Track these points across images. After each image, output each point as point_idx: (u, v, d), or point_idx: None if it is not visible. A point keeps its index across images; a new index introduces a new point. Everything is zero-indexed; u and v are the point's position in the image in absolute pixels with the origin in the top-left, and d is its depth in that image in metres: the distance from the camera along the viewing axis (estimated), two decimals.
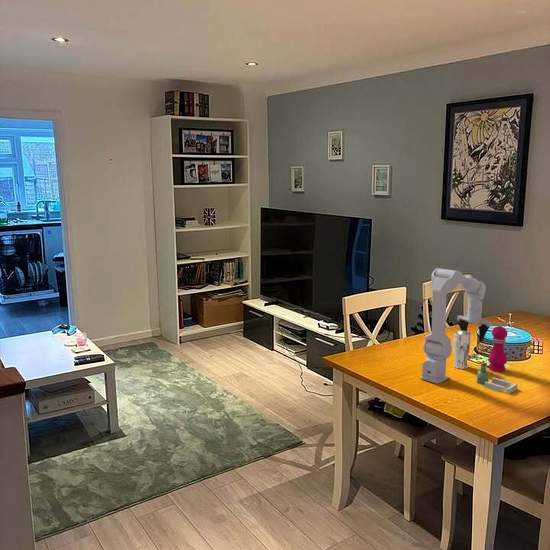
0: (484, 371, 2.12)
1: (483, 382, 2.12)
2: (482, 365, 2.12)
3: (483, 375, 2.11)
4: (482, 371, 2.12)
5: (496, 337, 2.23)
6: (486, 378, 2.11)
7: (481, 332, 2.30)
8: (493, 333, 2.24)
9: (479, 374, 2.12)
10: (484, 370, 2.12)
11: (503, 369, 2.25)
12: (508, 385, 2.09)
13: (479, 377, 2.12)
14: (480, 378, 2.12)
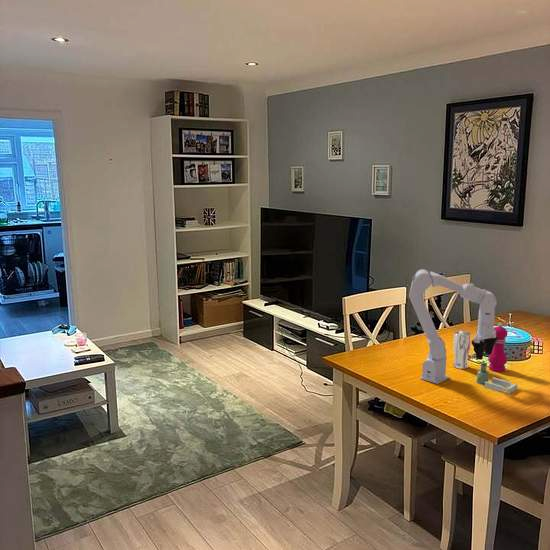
0: (484, 371, 2.12)
1: (483, 382, 2.12)
2: (482, 365, 2.12)
3: (483, 375, 2.11)
4: (482, 371, 2.12)
5: None
6: (486, 378, 2.11)
7: None
8: None
9: (479, 374, 2.12)
10: (484, 370, 2.12)
11: (503, 369, 2.25)
12: (508, 385, 2.09)
13: (479, 377, 2.12)
14: (480, 378, 2.12)
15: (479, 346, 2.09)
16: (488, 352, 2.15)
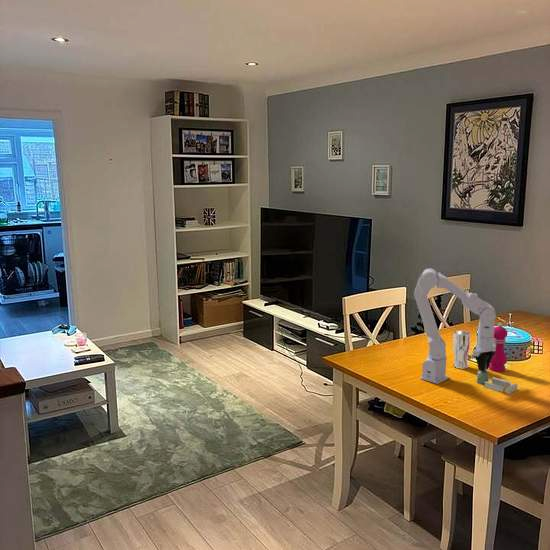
0: (484, 371, 2.12)
1: (483, 382, 2.12)
2: None
3: (483, 375, 2.11)
4: (482, 371, 2.12)
5: (496, 337, 2.23)
6: (486, 378, 2.11)
7: None
8: None
9: (479, 374, 2.12)
10: None
11: (503, 369, 2.25)
12: (508, 385, 2.09)
13: (479, 377, 2.12)
14: (480, 378, 2.12)
15: (481, 358, 2.11)
16: (485, 366, 2.13)
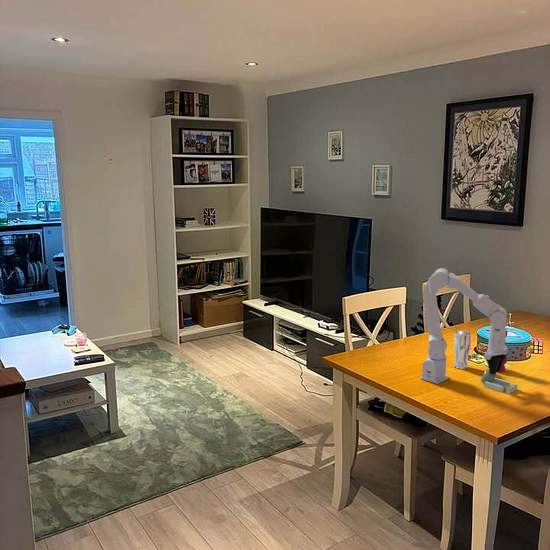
0: None
1: None
2: None
3: (490, 377, 2.09)
4: None
5: None
6: (492, 380, 2.10)
7: None
8: None
9: (486, 374, 2.10)
10: None
11: (503, 369, 2.25)
12: (508, 385, 2.09)
13: (485, 377, 2.10)
14: (486, 378, 2.10)
15: (493, 361, 2.07)
16: (496, 370, 2.10)
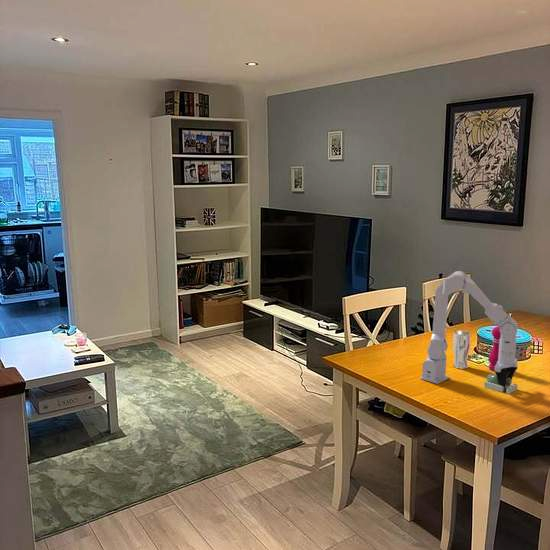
0: None
1: None
2: (507, 381, 2.05)
3: (497, 384, 2.07)
4: None
5: (496, 337, 2.23)
6: None
7: None
8: (493, 333, 2.24)
9: (496, 380, 2.07)
10: None
11: None
12: (508, 385, 2.09)
13: (493, 380, 2.08)
14: (493, 381, 2.08)
15: (502, 374, 2.04)
16: None
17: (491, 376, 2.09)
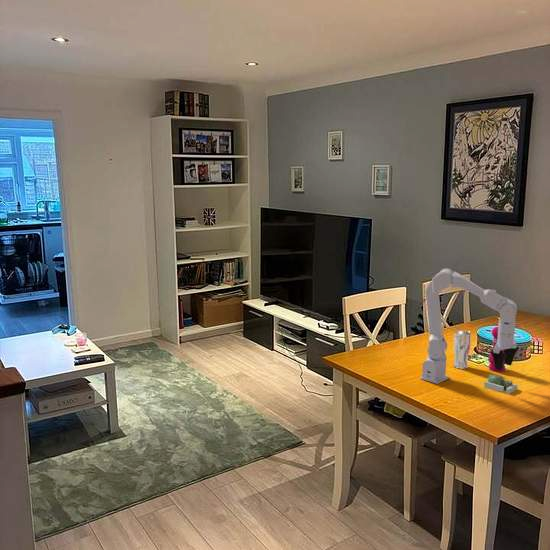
0: (502, 385, 2.08)
1: None
2: (508, 385, 2.06)
3: None
4: (502, 384, 2.07)
5: (496, 337, 2.23)
6: None
7: None
8: (493, 333, 2.24)
9: (498, 382, 2.07)
10: None
11: (503, 369, 2.25)
12: None
13: (494, 381, 2.08)
14: (494, 382, 2.08)
15: (499, 356, 2.03)
16: (508, 362, 2.09)
17: (493, 377, 2.09)
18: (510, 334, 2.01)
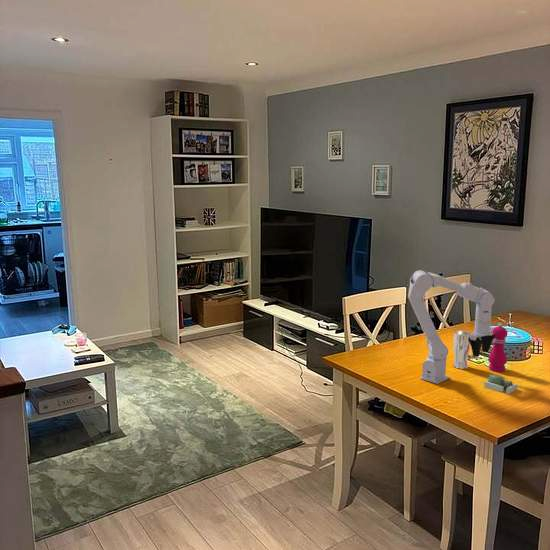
0: (502, 385, 2.08)
1: None
2: (508, 385, 2.06)
3: None
4: (502, 384, 2.07)
5: (496, 337, 2.23)
6: None
7: None
8: (493, 333, 2.24)
9: (498, 382, 2.07)
10: None
11: (503, 369, 2.25)
12: None
13: (494, 381, 2.08)
14: (494, 382, 2.08)
15: (476, 343, 2.12)
16: (485, 349, 2.18)
17: (493, 377, 2.09)
18: (486, 322, 2.11)
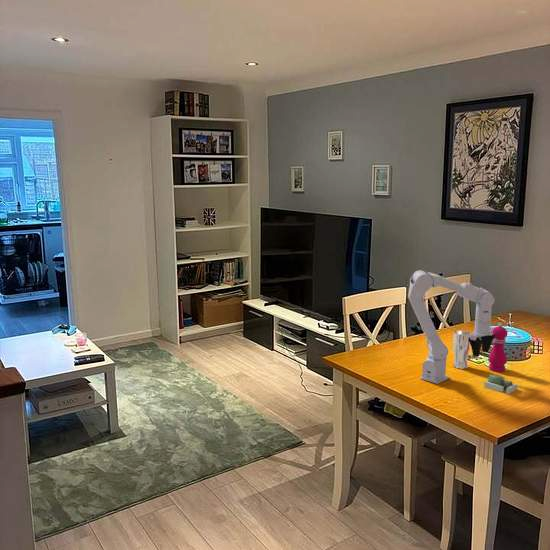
0: (502, 385, 2.08)
1: None
2: (508, 385, 2.06)
3: None
4: (502, 384, 2.07)
5: (496, 337, 2.23)
6: None
7: None
8: (493, 333, 2.24)
9: (498, 382, 2.07)
10: (503, 385, 2.07)
11: (503, 369, 2.25)
12: None
13: (494, 381, 2.08)
14: (494, 382, 2.08)
15: (476, 343, 2.12)
16: (485, 349, 2.18)
17: (493, 377, 2.09)
18: (486, 322, 2.11)
